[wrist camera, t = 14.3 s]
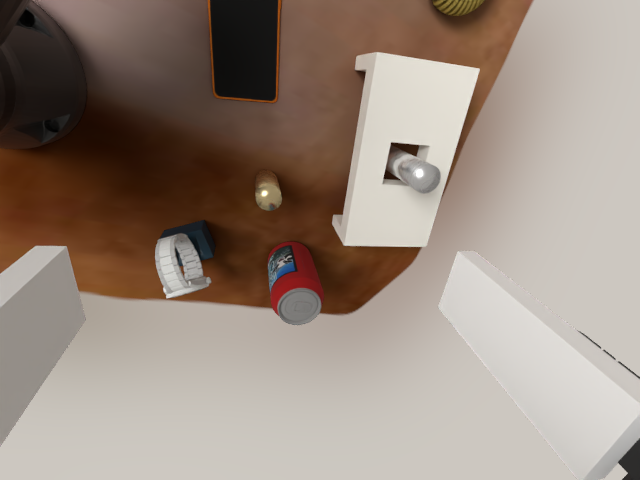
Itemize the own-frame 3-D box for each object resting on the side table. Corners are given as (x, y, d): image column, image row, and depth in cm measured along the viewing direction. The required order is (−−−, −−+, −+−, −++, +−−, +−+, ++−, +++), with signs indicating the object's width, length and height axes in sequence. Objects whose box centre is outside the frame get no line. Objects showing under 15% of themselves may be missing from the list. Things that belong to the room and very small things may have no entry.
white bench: (331, 223, 47) (344, 245, 41) (356, 55, 38) (377, 52, 32) (404, 226, 50) (426, 247, 44) (445, 69, 40) (480, 68, 34)
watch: (183, 267, 46) (165, 318, 36) (158, 218, 42) (131, 261, 32) (221, 257, 46) (213, 304, 37) (200, 208, 42) (185, 246, 33)
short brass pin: (254, 191, 43) (255, 210, 37) (255, 169, 41) (256, 185, 35) (276, 192, 43) (281, 211, 37) (278, 170, 42) (282, 186, 36)
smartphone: (213, 97, 37) (212, 98, 36) (203, -95, 30) (201, -99, 29) (278, 103, 39) (278, 103, 38) (283, -79, 31) (284, -83, 31)
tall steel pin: (369, 162, 44) (410, 192, 33) (373, 140, 43) (417, 163, 32) (389, 164, 45) (436, 194, 33) (394, 143, 44) (444, 166, 32)
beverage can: (272, 235, 46) (278, 281, 36) (315, 242, 48) (333, 288, 38) (262, 273, 49) (266, 327, 39) (304, 279, 51) (318, 331, 41)
